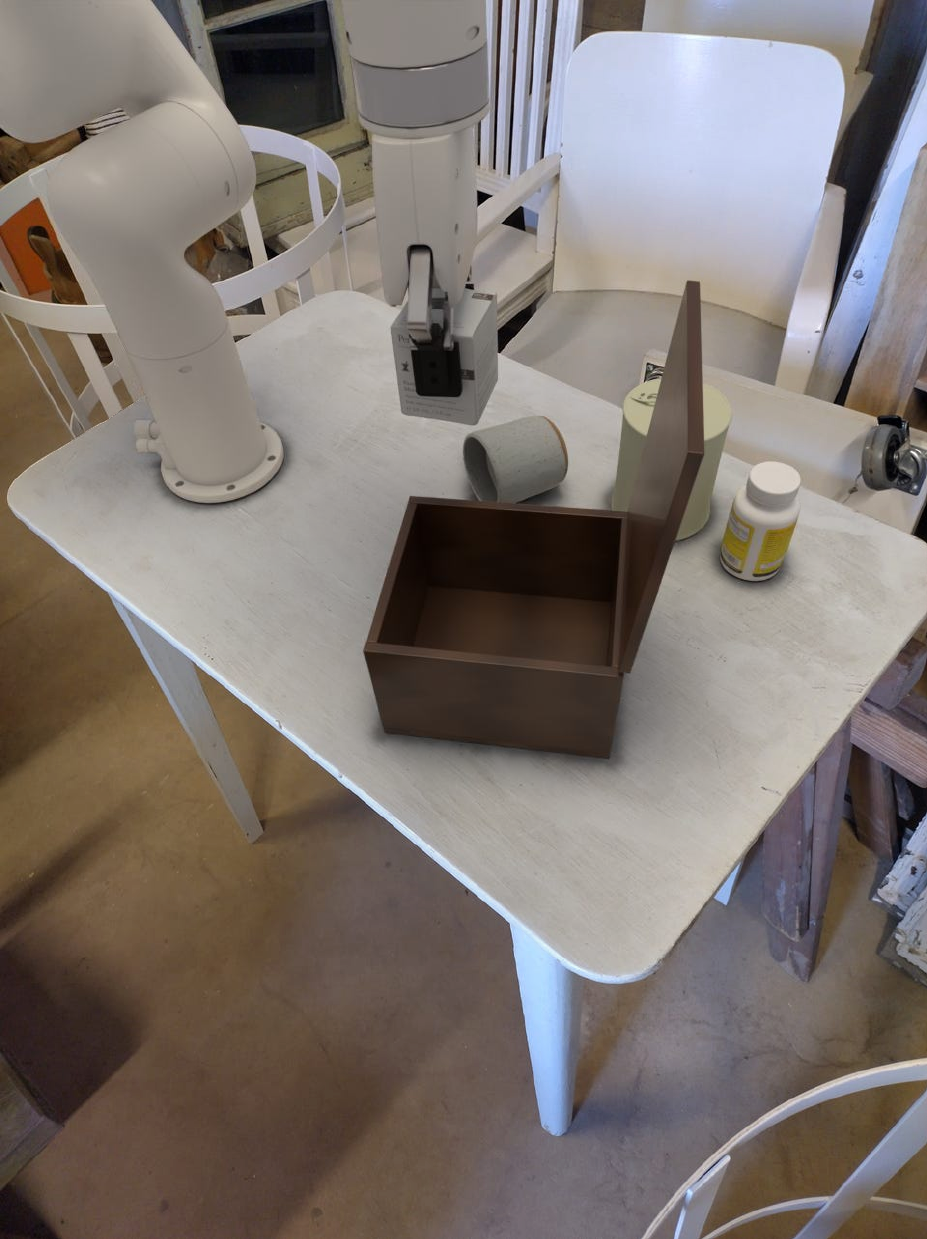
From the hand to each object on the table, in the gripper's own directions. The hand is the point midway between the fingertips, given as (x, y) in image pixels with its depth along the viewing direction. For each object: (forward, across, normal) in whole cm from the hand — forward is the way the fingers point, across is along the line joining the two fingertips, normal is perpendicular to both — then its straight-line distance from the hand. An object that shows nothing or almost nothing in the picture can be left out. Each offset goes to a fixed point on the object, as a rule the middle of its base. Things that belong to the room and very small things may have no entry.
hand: (447, 361), depth 59 cm
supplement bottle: (+21, -2, +25) cm, 33 cm away
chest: (+21, +11, +5) cm, 24 cm away
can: (+21, -8, +18) cm, 29 cm away
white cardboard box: (+3, 0, 0) cm, 3 cm away
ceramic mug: (+21, -11, +3) cm, 24 cm away
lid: (+1, +12, +15) cm, 19 cm away
